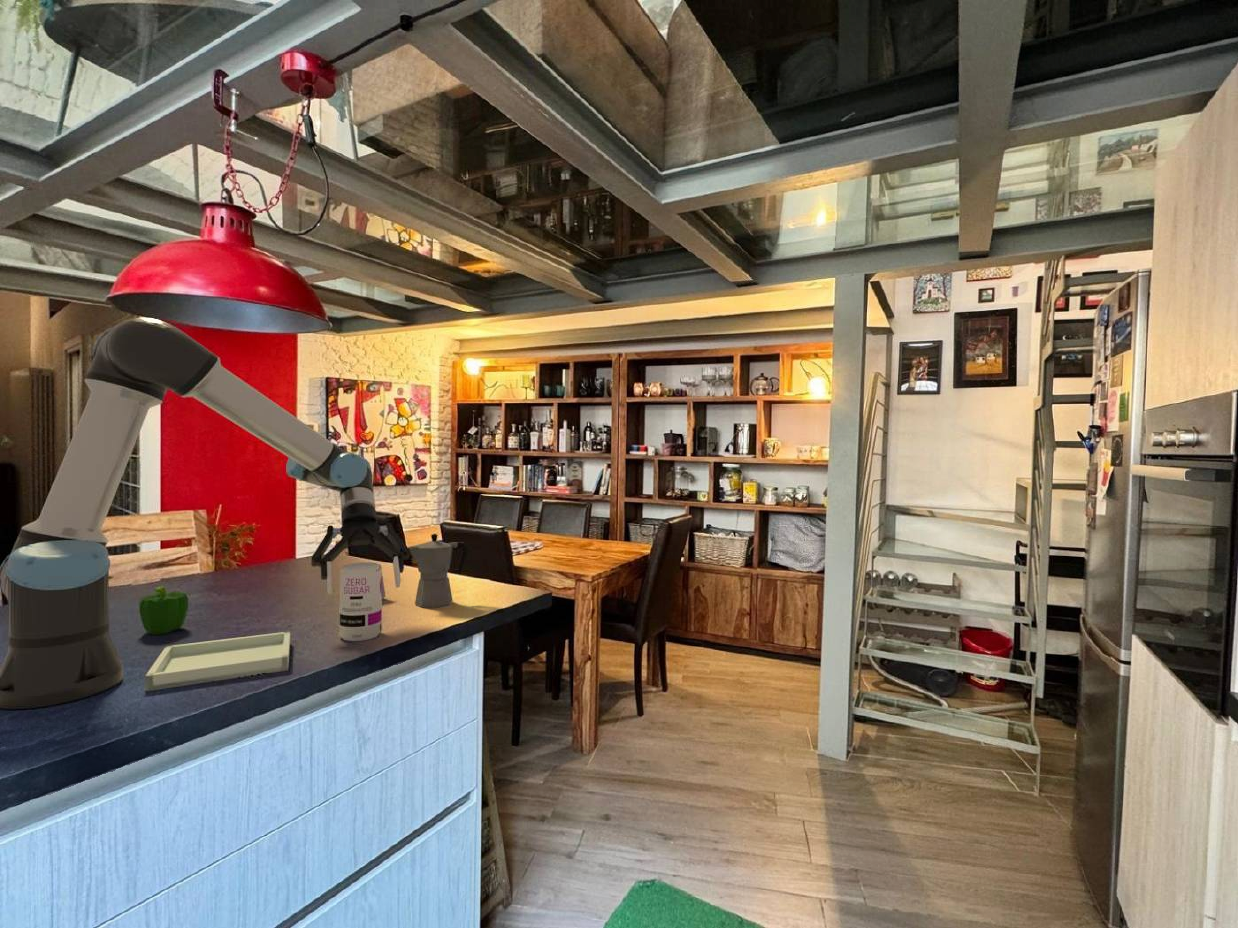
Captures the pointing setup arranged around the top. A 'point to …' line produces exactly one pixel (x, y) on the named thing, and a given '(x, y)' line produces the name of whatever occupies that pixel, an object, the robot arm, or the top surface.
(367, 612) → the supplement can
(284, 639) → the tray
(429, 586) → the coffeepot
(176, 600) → the bell pepper
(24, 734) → the top surface
